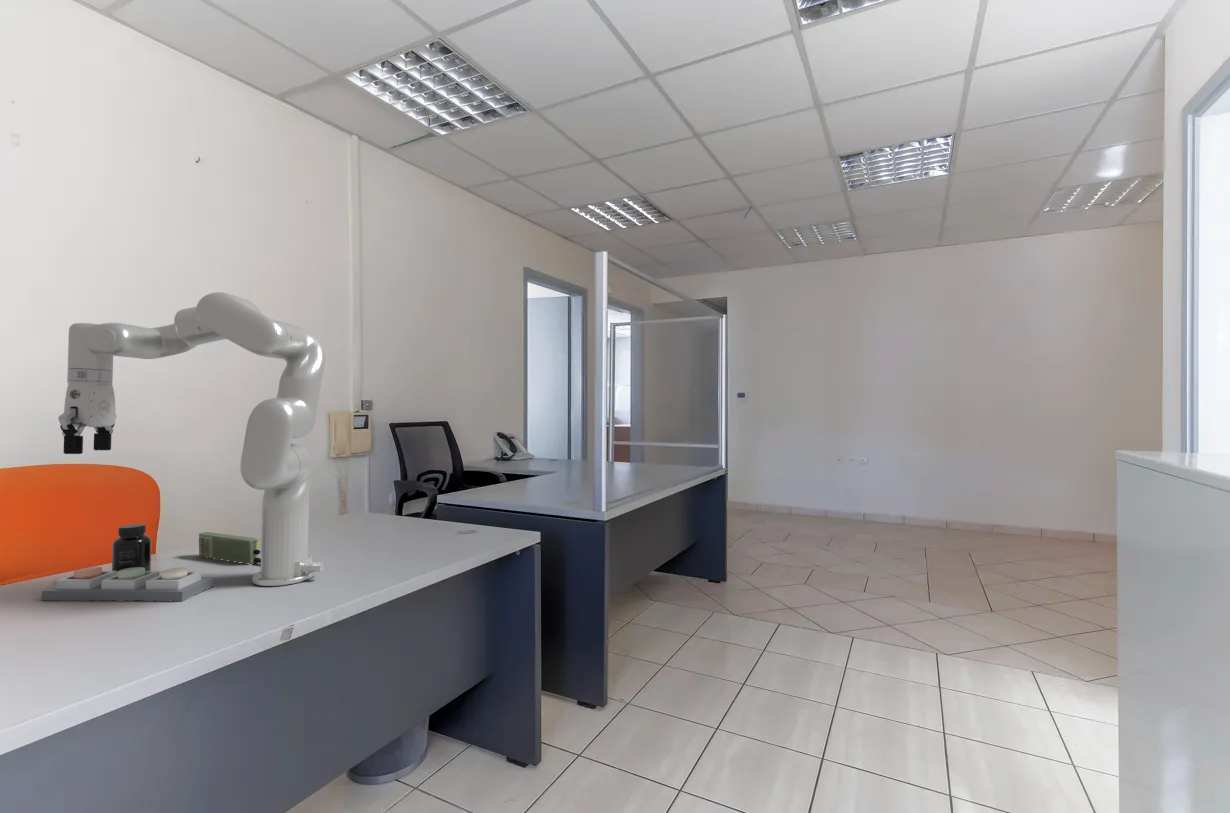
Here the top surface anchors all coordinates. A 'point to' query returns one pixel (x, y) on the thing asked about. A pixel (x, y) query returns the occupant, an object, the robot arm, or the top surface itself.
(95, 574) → the terracotta button
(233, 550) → the handheld radio
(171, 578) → the cream button
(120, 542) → the supplement bottle
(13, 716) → the top surface
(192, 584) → the button panel
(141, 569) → the sage button
